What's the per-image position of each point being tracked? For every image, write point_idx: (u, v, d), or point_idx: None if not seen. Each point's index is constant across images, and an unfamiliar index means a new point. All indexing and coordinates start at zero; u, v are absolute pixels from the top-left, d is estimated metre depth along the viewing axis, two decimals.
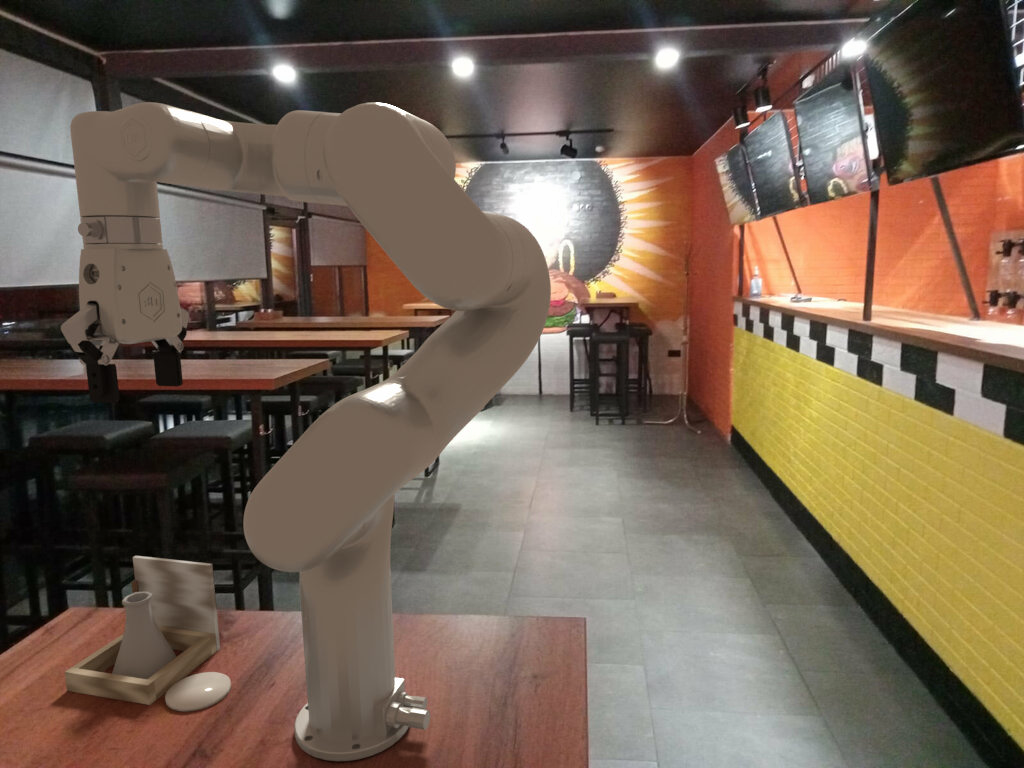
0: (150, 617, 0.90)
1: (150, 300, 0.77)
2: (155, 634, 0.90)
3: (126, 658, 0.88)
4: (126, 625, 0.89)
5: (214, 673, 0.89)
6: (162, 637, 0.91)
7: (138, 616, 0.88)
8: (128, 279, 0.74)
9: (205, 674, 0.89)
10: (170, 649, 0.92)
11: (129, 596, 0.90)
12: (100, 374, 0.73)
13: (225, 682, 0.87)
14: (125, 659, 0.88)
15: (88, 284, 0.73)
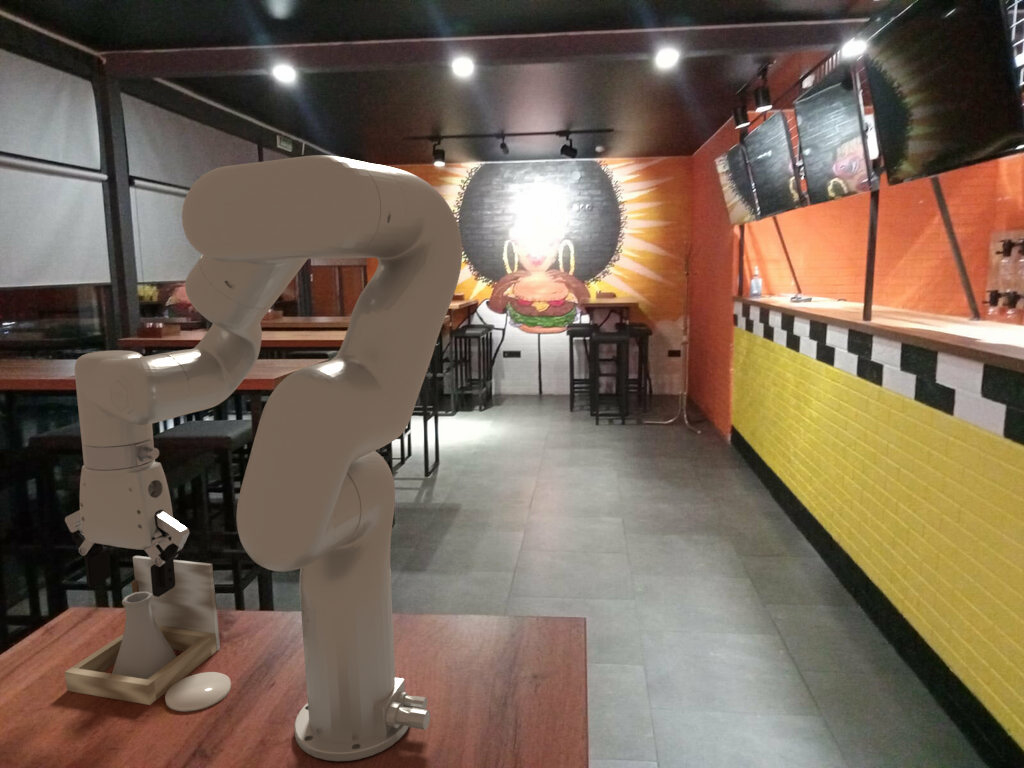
0: (150, 617, 0.90)
1: None
2: (155, 634, 0.90)
3: (126, 658, 0.88)
4: (126, 625, 0.89)
5: (214, 673, 0.89)
6: (162, 637, 0.91)
7: (138, 616, 0.88)
8: None
9: (205, 674, 0.89)
10: (170, 649, 0.92)
11: (129, 596, 0.90)
12: (173, 566, 0.88)
13: (225, 682, 0.87)
14: (125, 659, 0.88)
15: (154, 498, 0.85)
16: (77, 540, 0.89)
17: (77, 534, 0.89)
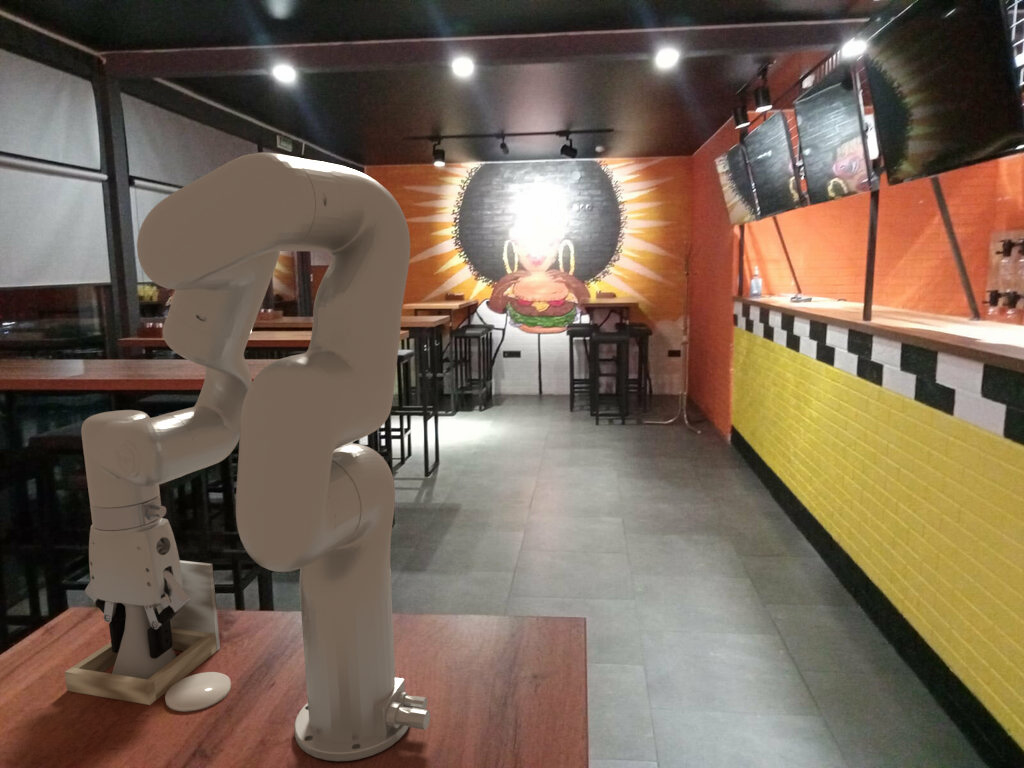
0: None
1: None
2: None
3: (125, 658, 0.88)
4: (126, 625, 0.89)
5: (214, 673, 0.89)
6: None
7: (138, 615, 0.88)
8: None
9: (205, 674, 0.89)
10: (170, 649, 0.92)
11: None
12: (170, 627, 0.90)
13: (225, 682, 0.87)
14: (125, 659, 0.88)
15: (162, 555, 0.87)
16: (101, 607, 0.90)
17: (101, 601, 0.90)
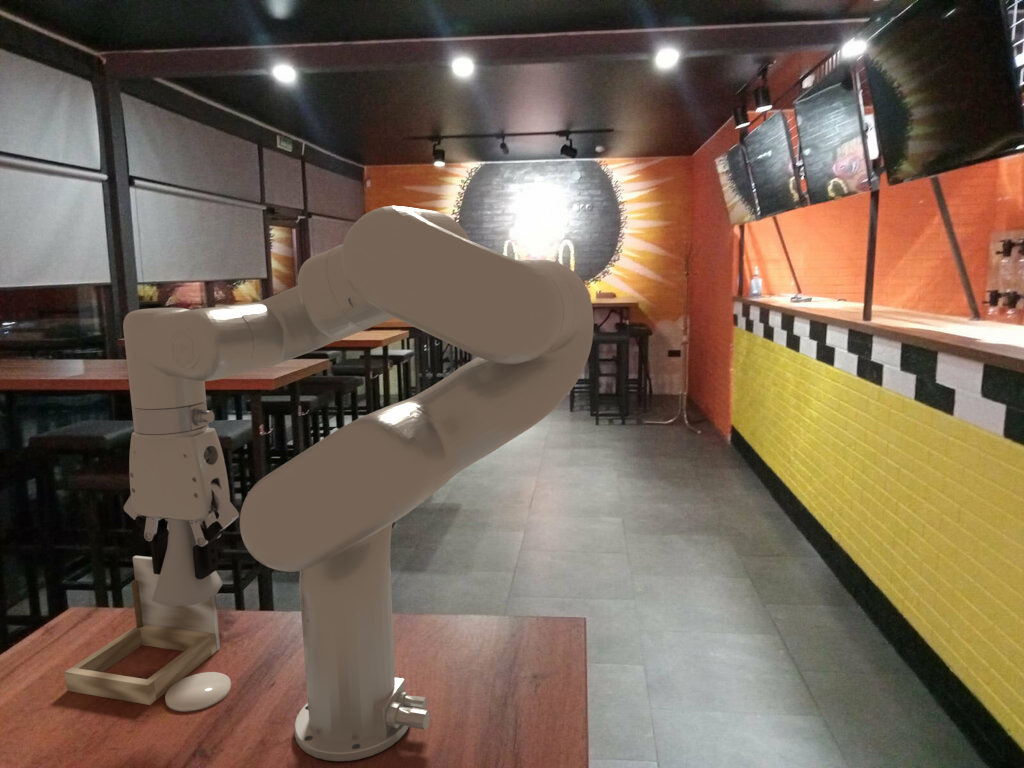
0: None
1: None
2: None
3: (169, 578, 0.81)
4: (168, 543, 0.82)
5: (214, 673, 0.89)
6: None
7: (182, 532, 0.81)
8: None
9: (205, 674, 0.89)
10: (215, 572, 0.85)
11: None
12: (216, 547, 0.83)
13: (225, 682, 0.87)
14: (168, 579, 0.81)
15: (210, 465, 0.79)
16: (142, 525, 0.83)
17: (142, 518, 0.83)
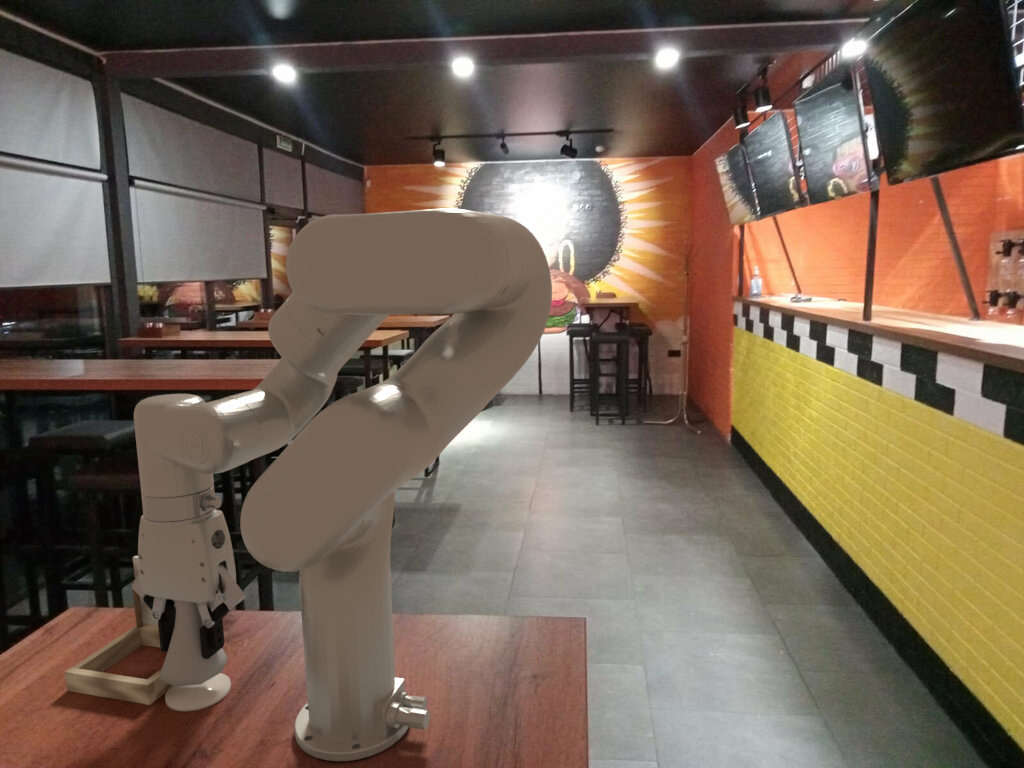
0: None
1: None
2: None
3: (176, 657, 0.83)
4: (176, 622, 0.83)
5: None
6: None
7: (189, 612, 0.83)
8: None
9: None
10: (221, 648, 0.87)
11: None
12: None
13: (225, 682, 0.87)
14: (175, 658, 0.83)
15: (217, 549, 0.81)
16: (149, 603, 0.84)
17: (149, 597, 0.84)
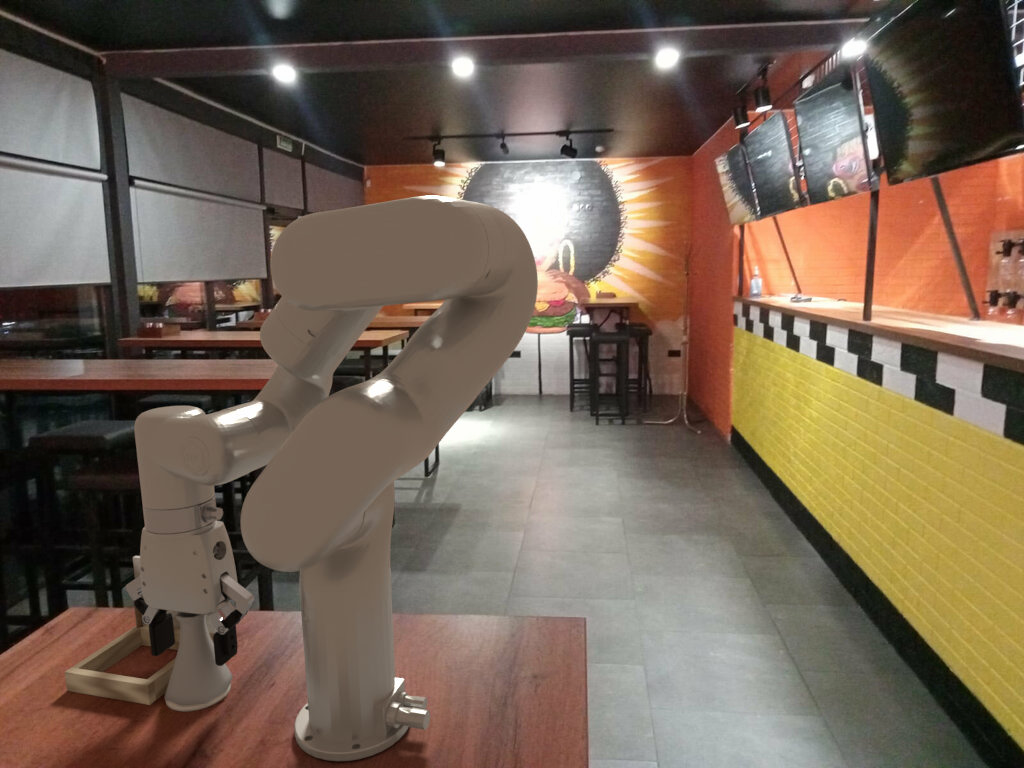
0: (205, 633, 0.85)
1: None
2: (211, 650, 0.85)
3: (180, 677, 0.83)
4: (180, 641, 0.84)
5: None
6: None
7: (193, 631, 0.83)
8: None
9: None
10: (225, 666, 0.87)
11: None
12: None
13: None
14: (180, 677, 0.83)
15: (218, 560, 0.81)
16: (140, 608, 0.85)
17: (140, 602, 0.85)
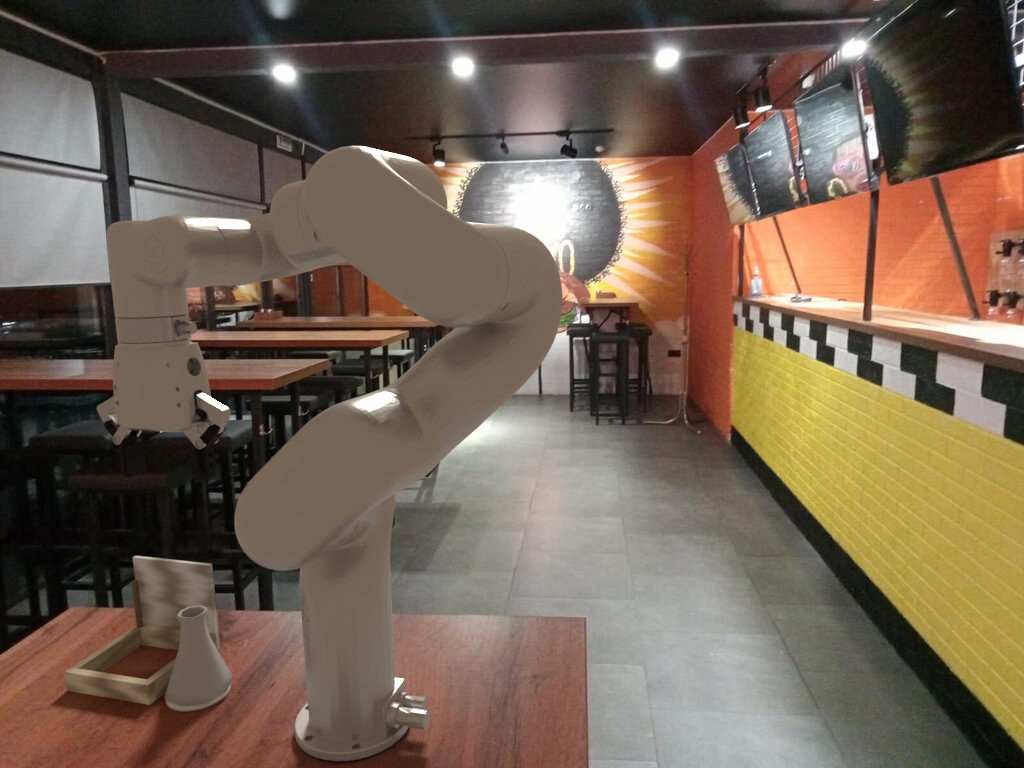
0: (206, 633, 0.85)
1: None
2: (211, 650, 0.85)
3: (181, 677, 0.83)
4: (180, 642, 0.84)
5: None
6: (217, 654, 0.86)
7: (193, 631, 0.83)
8: None
9: None
10: (225, 666, 0.87)
11: (183, 610, 0.84)
12: (214, 452, 0.83)
13: None
14: (180, 678, 0.83)
15: (193, 376, 0.81)
16: (110, 430, 0.84)
17: (110, 423, 0.84)
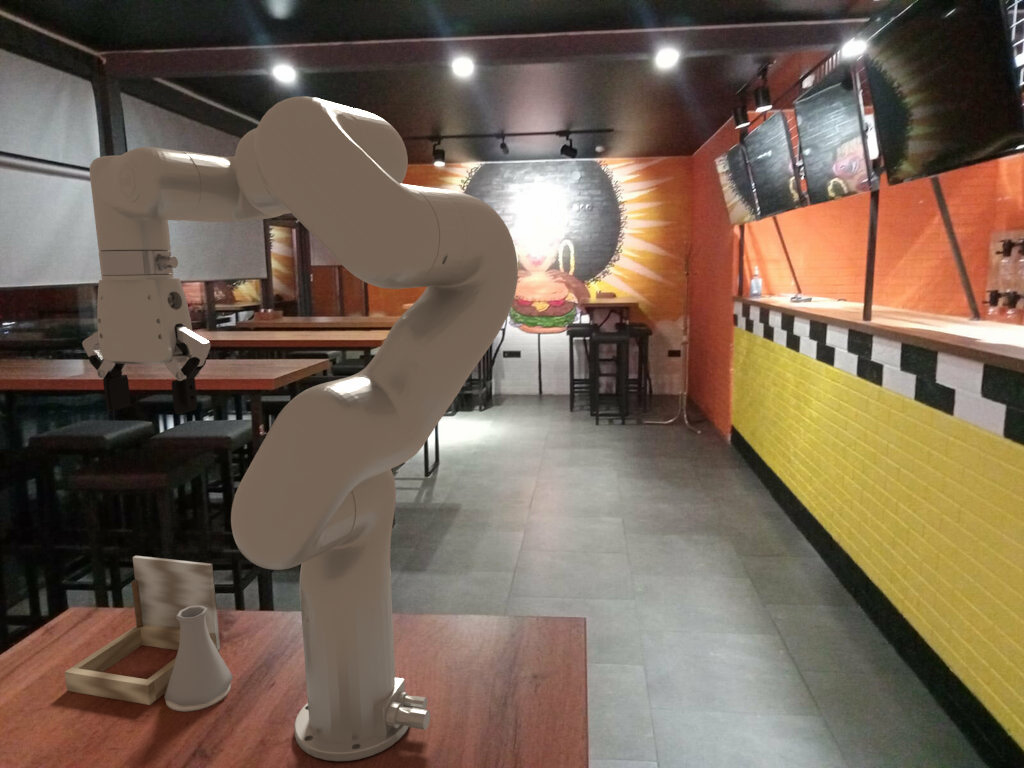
0: (205, 633, 0.85)
1: None
2: (211, 651, 0.85)
3: (181, 677, 0.83)
4: (180, 642, 0.84)
5: None
6: (217, 654, 0.86)
7: (193, 631, 0.83)
8: None
9: None
10: (225, 666, 0.87)
11: (183, 611, 0.84)
12: None
13: None
14: (180, 678, 0.83)
15: (173, 309, 0.83)
16: (95, 364, 0.87)
17: (95, 357, 0.87)
